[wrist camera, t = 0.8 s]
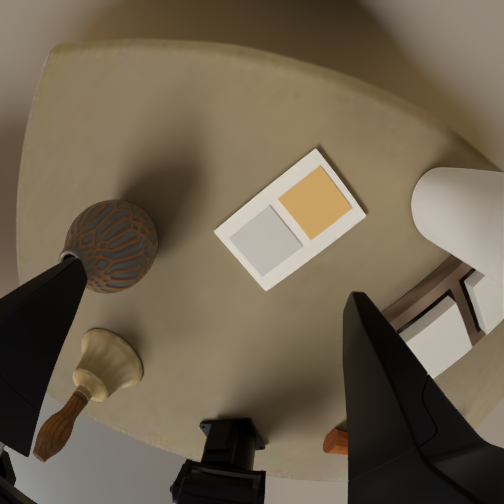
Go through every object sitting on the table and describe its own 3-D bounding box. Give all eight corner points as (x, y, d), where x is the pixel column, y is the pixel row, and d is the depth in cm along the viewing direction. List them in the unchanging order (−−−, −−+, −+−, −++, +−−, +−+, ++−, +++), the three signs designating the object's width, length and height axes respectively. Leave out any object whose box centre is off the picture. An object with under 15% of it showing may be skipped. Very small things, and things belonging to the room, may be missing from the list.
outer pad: (479, 327, 21) (487, 334, 19) (463, 281, 20) (472, 287, 18) (520, 286, 19) (528, 291, 17) (507, 236, 18) (517, 241, 16)
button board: (403, 382, 25) (408, 393, 23) (363, 325, 24) (368, 337, 22) (518, 283, 21) (528, 289, 19) (497, 209, 19) (510, 213, 17)
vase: (137, 178, 22) (70, 189, 14) (184, 244, 23) (135, 287, 15) (90, 225, 24) (24, 253, 15) (132, 284, 25) (78, 332, 16)
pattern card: (266, 289, 24) (265, 292, 23) (214, 230, 23) (213, 231, 22) (365, 215, 21) (366, 216, 21) (315, 148, 20) (315, 148, 19)
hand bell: (96, 314, 26) (-1, 408, 11) (155, 365, 27) (87, 483, 12) (75, 352, 29) (1, 433, 14) (126, 395, 30) (69, 490, 15)
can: (404, 169, 20) (505, 181, 8) (464, 164, 19) (565, 177, 7) (411, 247, 21) (496, 313, 10) (468, 236, 20) (558, 285, 9)
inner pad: (413, 379, 23) (418, 388, 21) (389, 340, 22) (394, 350, 20) (465, 339, 21) (472, 347, 20) (447, 295, 20) (456, 302, 19)
